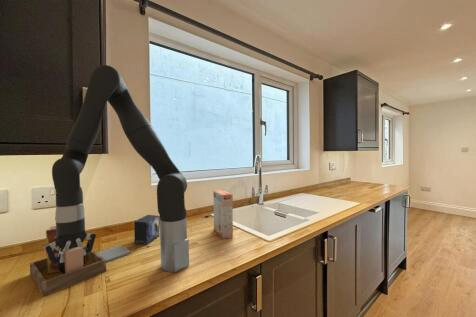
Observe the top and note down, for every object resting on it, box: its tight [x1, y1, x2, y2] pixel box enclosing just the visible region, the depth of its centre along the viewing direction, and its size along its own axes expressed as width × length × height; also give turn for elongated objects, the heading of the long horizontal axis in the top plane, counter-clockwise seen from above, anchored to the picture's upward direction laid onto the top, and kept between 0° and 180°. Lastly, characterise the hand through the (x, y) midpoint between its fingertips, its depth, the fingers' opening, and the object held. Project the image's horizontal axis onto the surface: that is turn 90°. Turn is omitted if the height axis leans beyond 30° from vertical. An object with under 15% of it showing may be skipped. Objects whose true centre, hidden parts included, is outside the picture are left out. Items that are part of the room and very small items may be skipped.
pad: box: [96, 244, 132, 264], centre depth 87 cm, size 10×12×1 cm
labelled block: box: [61, 247, 85, 275], centre depth 72 cm, size 6×4×10 cm
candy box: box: [45, 225, 60, 274], centre depth 77 cm, size 9×4×15 cm, turn 109°
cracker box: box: [212, 189, 234, 240], centre depth 109 cm, size 14×6×21 cm, turn 22°
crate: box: [29, 245, 107, 297], centre depth 75 cm, size 19×17×4 cm
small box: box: [133, 214, 160, 246], centre depth 102 cm, size 11×6×10 cm, turn 168°
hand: (72, 268), depth 72 cm, fingers closed on labelled block, 4 cm apart
